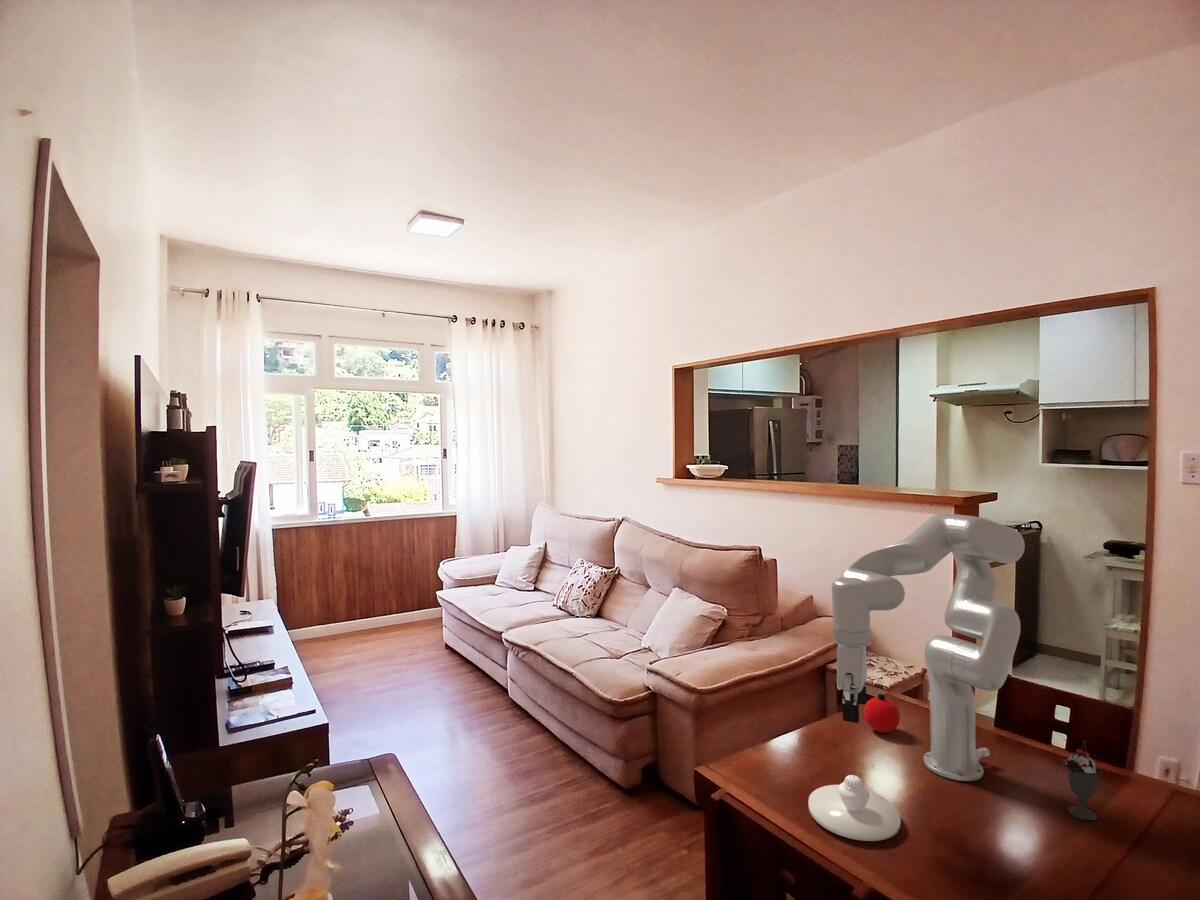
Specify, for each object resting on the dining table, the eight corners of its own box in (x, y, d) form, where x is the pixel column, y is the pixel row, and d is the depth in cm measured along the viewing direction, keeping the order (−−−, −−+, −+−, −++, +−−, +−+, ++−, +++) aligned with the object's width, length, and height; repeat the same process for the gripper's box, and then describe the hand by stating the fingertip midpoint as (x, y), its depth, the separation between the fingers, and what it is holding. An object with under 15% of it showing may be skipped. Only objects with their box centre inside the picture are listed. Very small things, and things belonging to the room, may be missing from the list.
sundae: (1094, 807, 132) (1093, 738, 132) (1108, 826, 125) (1107, 753, 125) (1057, 802, 134) (1057, 733, 134) (1069, 820, 128) (1069, 748, 127)
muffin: (870, 804, 131) (870, 772, 131) (869, 820, 126) (868, 786, 126) (839, 797, 134) (839, 765, 134) (836, 813, 128) (836, 779, 128)
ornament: (883, 741, 162) (883, 704, 162) (856, 727, 170) (856, 691, 170) (907, 734, 166) (907, 697, 166) (879, 721, 174) (879, 685, 174)
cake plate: (858, 786, 141) (858, 778, 141) (921, 833, 124) (920, 824, 124) (791, 802, 136) (791, 793, 136) (847, 853, 119) (847, 843, 119)
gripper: (841, 621, 144) (844, 693, 144) (825, 645, 129) (829, 725, 130) (876, 625, 140) (879, 699, 140) (864, 650, 125) (867, 733, 126)
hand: (855, 712), depth 135 cm, fingers open, 9 cm apart
